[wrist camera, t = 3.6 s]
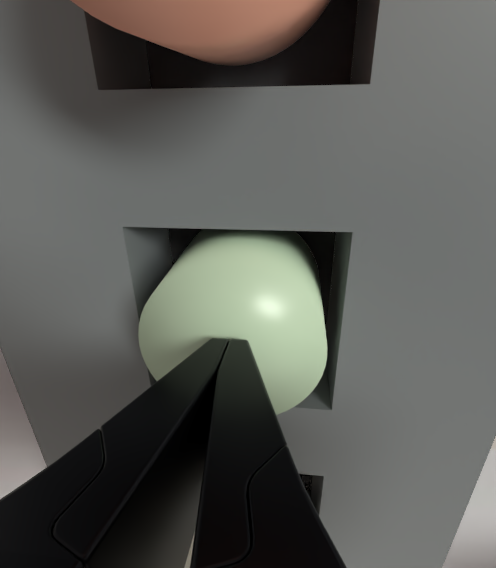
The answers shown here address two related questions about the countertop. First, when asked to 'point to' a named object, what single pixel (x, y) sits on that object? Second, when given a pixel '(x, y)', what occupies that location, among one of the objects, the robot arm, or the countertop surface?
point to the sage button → (242, 308)
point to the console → (269, 216)
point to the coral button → (212, 25)
